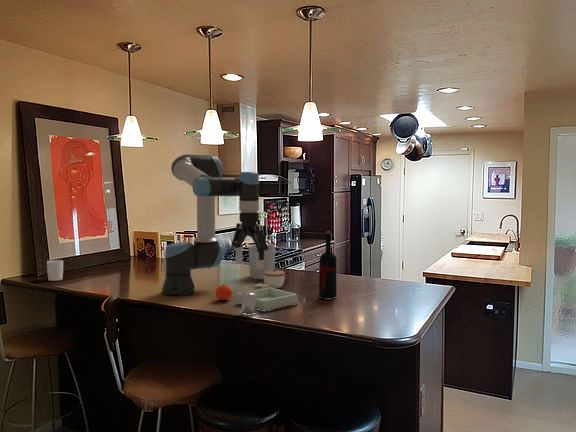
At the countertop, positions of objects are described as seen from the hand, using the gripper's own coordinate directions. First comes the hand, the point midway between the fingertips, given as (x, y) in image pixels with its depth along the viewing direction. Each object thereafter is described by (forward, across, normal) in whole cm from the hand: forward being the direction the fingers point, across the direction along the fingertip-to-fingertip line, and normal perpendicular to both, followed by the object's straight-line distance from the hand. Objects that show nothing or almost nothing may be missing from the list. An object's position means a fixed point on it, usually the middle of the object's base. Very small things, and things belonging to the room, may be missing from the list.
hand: (249, 266), depth 177 cm
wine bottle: (+19, -3, -41) cm, 45 cm away
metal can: (+19, 0, 0) cm, 19 cm away
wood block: (+19, +20, -22) cm, 35 cm away
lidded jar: (+19, +29, -37) cm, 51 cm away
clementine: (+19, +24, -4) cm, 31 cm away
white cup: (+19, +120, +39) cm, 128 cm away
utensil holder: (+19, +54, -49) cm, 75 cm away
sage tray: (+19, +6, -14) cm, 24 cm away
